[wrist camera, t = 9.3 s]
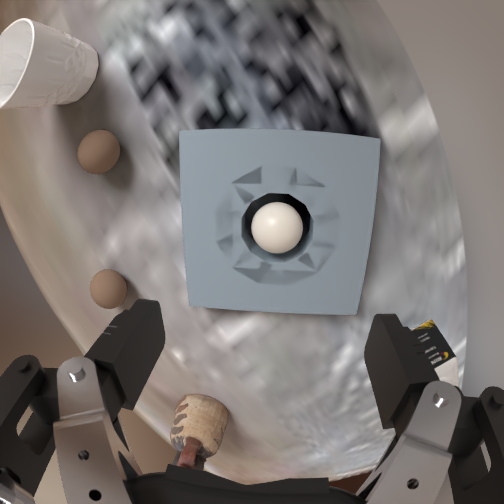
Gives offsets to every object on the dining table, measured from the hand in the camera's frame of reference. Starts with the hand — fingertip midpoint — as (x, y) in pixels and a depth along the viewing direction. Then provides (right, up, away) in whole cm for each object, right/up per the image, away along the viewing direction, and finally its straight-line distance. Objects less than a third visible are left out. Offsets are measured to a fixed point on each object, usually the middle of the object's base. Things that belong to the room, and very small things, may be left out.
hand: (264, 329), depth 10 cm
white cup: (-18, +21, +10) cm, 30 cm away
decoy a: (-14, +12, +11) cm, 21 cm away
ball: (+2, +5, +12) cm, 13 cm away
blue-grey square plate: (+2, +5, +14) cm, 15 cm away
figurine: (-7, -19, +25) cm, 32 cm away
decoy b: (-15, -1, +16) cm, 22 cm away
